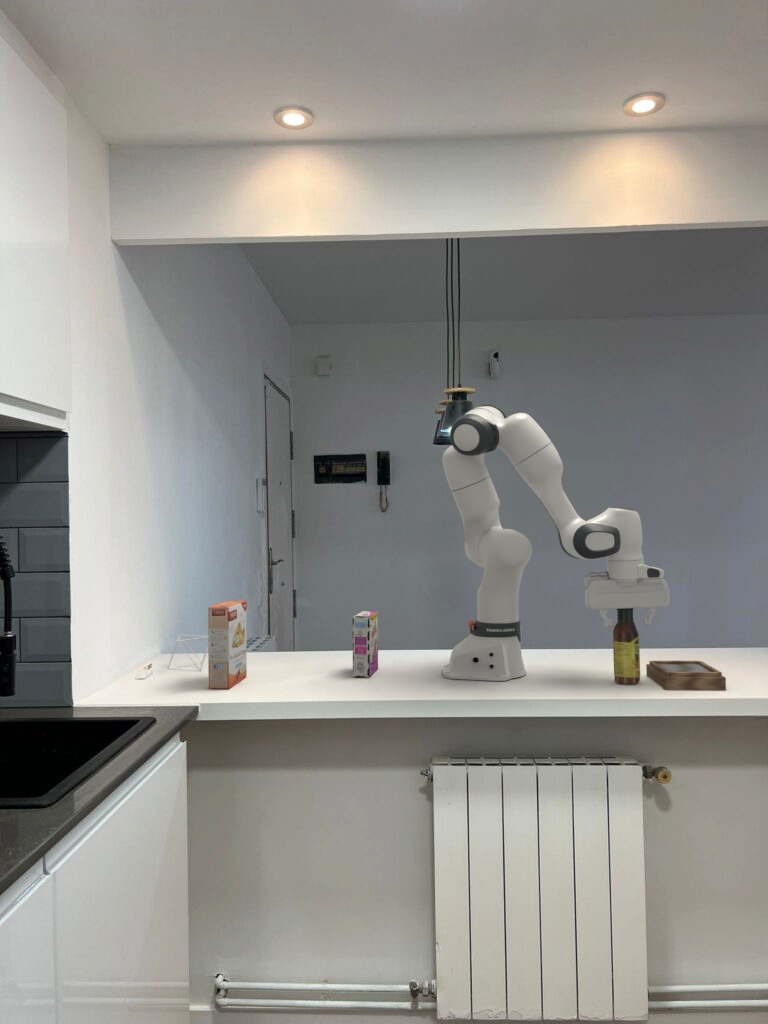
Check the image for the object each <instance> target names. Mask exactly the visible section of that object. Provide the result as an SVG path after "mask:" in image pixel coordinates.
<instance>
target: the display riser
mask: <svg viewBox="0 0 768 1024" xmlns="http://www.w3.org/2000/svg"><path fill="white" fill-rule="evenodd" d="M645 667H646V676H647V678H649V679H650V680H652V681H653V682H654V683H656V685H658V686H660V687H661V688H662V689H664V690H665V691H727V686H726V685H727V683H726V682H727V680H726V677H725V676H723V673H722V672H721V671H720V670H719V669H716V668H715V667H712V666H711V665H709V664H707V663H705V662H704V661H702V660H649V662H648V663H646V665H645Z"/></svg>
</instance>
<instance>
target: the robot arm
mask: <svg viewBox="0 0 768 1024" xmlns="http://www.w3.org/2000/svg"><path fill="white" fill-rule="evenodd" d="M449 440H450V444H451V446H449V447H448V448H446V450H445V451H444V452H443V454H442V457H441V460H442V465H443V471H444V475H445V477H446V478H445V479H446V482H447V485H448V486H449V487H448V488H449V490H450V492H451V494H452V497H453V500H454V502H455V504H456V507H457V509H458V512H459V515H460V517H461V521H462V525H463V527H462V528H463V532H464V539H465V543H464V553H465V555H466V557H467V558H468V559H469V561H471V562H472V563H474V564H475V565H477V566H478V567H479V568H484V572H483V576H482V577H483V578H482V581H481V584H480V586H479V588H478V589H477V593H476V602H477V603H476V605H477V607H476V608H477V613H476V614H477V616H476V617H477V619H476V620H475V621H474V620H473V619H471V620H469V621H468V622H467V627H468V628H469V632H470V634H469V635H468V636H467V637H465V638H464V639H463V640H462V641H461V642H459V643H458V644H457V645H455V646H454V647H453V649H452V651H451V653H450V657H449V663H448V664H444V665H443V666H442V668H441V674H442V676H443V677H444V678H447V679H451V680H452V679H453V680H473V681H494V682H507V681H508V680H511V679H516V678H520V677H523V676H526V674H527V670H526V668H525V663H524V661H523V656H522V649H521V641H522V624H521V620H520V615H519V614H520V610H519V609H520V608H519V605H520V602H519V601H520V600H519V597H520V586H521V581H522V577H523V574H524V569H525V567H526V565H528V563H529V562H530V560H531V557H532V555H533V554H532V553H533V549H532V548H533V547H532V544H531V541H530V540H529V538H528V537H527V536H526V535H524V534H523V533H521V532H519V531H517V530H515V529H511V528H503V527H502V525H501V521H500V514H499V513H500V511H499V508H500V504H501V503H500V502H501V501H500V498H499V496H498V494H497V490H496V488H495V486H494V483H493V480H492V478H491V476H490V473H489V471H488V468H487V466H486V462H485V454H486V453H491V452H494V451H495V450H496V449H499V450H501V451H502V452H504V454H505V455H506V456H507V458H508V459H509V461H510V462H511V464H512V465H513V466H514V467H513V468H514V469H515V470H516V471H517V473H518V474H519V476H520V477H521V478H522V480H523V481H524V482H525V483H526V484H527V485H528V486H529V488H530V489H531V490H532V491H533V493H535V495H536V496H537V497H538V498H539V500H540V502H541V503H542V505H543V506H544V508H545V510H546V512H547V513H548V515H549V517H550V519H551V520H552V522H553V523H554V526H555V527H556V531H557V536H558V543H559V545H560V547H561V550H562V552H563V553H565V554H566V555H567V556H569V557H570V558H573V559H577V560H578V559H579V560H581V559H582V560H589V561H590V560H591V561H592V560H593V561H594V560H598V559H600V558H606V559H605V560H606V571H599V572H595V571H594V572H593V571H592V572H589V573H588V574H586V575H585V576H584V577H583V588H584V589H585V594H584V604H585V606H586V607H587V608H588V609H589V610H599V614H600V615H601V617H602V619H604V627H606V628H611V627H613V619H611V618H608V617H607V615H606V614H608V610H615V609H616V610H617V609H622V608H634V609H646V611H647V612H648V613H647V615H646V617H642V621H643V622H642V626H644V627H649V626H652V618H653V616H654V615H655V613H656V608H668V607H669V605H670V603H671V600H670V599H671V597H670V591H669V586H668V582H667V581H666V580H665V579H663V578H664V577H665V570H663V569H662V568H660V567H659V568H658V567H655V566H652V565H650V564H645V560H644V555H643V552H642V546H643V541H644V540H643V537H644V536H643V528H642V521H641V520H642V519H641V516H640V514H639V513H638V512H637V510H635V509H633V508H629V507H621V506H610V507H608V508H606V509H605V510H604V511H603V512H602V513H600V514H598V515H596V516H594V517H593V518H590V519H587V520H585V519H583V518H582V517H581V516H579V515H578V513H577V512H576V510H575V508H574V507H573V505H572V503H571V501H570V500H569V498H568V496H567V494H566V493H565V491H564V488H563V485H562V475H563V471H564V464H563V461H562V459H561V456H560V453H559V452H558V450H557V448H556V447H555V445H554V444H553V441H551V439H550V438H549V436H548V435H547V434H546V432H545V431H544V430H543V428H542V427H541V426H540V425H539V424H538V423H537V422H536V420H535V419H534V418H533V417H532V416H531V415H529V414H528V413H525V412H517V413H514V414H511V415H509V416H507V414H506V412H505V411H504V410H503V409H502V408H501V407H499V406H497V405H492V404H484V405H483V404H482V405H479V406H477V407H474V408H472V409H470V410H468V411H467V412H465V413H464V414H463V415H460V416H459V417H458V418H457V419H456V420H455V421H454V422H453V424H452V425H451V429H450V432H449Z"/></svg>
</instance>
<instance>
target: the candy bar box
mask: <svg viewBox="0 0 768 1024" xmlns="http://www.w3.org/2000/svg"><path fill="white" fill-rule="evenodd" d="M378 669H379V612H378V611H371V610H370V611H369V610H368V611H367V610H365V611H363V610H362V611H360V612H359V613H357V614H355V615H353V616H352V677H353V678H357V679H358V678H362V679H363V678H364V679H369V678H370V677H371V676H373V674H374V673H375V672H376V671H378Z"/></svg>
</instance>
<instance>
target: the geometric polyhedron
mask: <svg viewBox="0 0 768 1024" xmlns="http://www.w3.org/2000/svg"><path fill="white" fill-rule="evenodd" d="M182 636H183V637H184V636H185V637H194V638H189V639H188V638H187V639H184V638H183V637H182ZM180 638H181V640H180ZM206 638H208V635H206V636H204V635H202V634H201V635H200V634H199V635H197V634H179V635H178V638H177V639H176V642H175V646H174V649H173V652H172V655H171V657H170V660H169V664H168V667H167V670H170V671H174V670H175V671H184V669H182V668H184V667H189V666H196V667H197V669H187V671H190V672H191V671H192V672H201V671H202V669H203V667H204V664H205V663H204V662H205V661H206V660H205V659H206V657H207V655H208V654H207V653H208V645H207V646H206V647H207V648H206V649H205V652H204V655H203V658H202V661H201V659H200V658H199V657H198V656H197V655H196V653H195V652H194V650H193V649H192V648H191V646H189V644H188V643H187V642H186V641H192V640H193V641H194V640H197V639H198V640H199V639H206ZM180 642H184V643H185V644H186V646H187V647H188V648H189V650H190V651H192V652H191V653H193V654H194V656H195V657H196V658H197V659H198V661H199V663H196V662H195V661H194V660H193V659H192V657H191V656H190V655H189V654H188V652H187V650H186V649H185V648H184V647H183V646H182V645H181V643H180ZM177 645H179V646H180V647H181V648H182V650H183V651H184V652H185V654H186V655H187V656H188V657H189V659H190V660H191V661H192V664H186V665H182V666H181V665H180V666H175V667H170V666H171V663H172V660H173V656H175V655H174V654H175V651H176V648H177ZM197 665H200V668H199V666H197ZM177 668H178V669H177ZM180 668H181V669H180Z"/></svg>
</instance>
